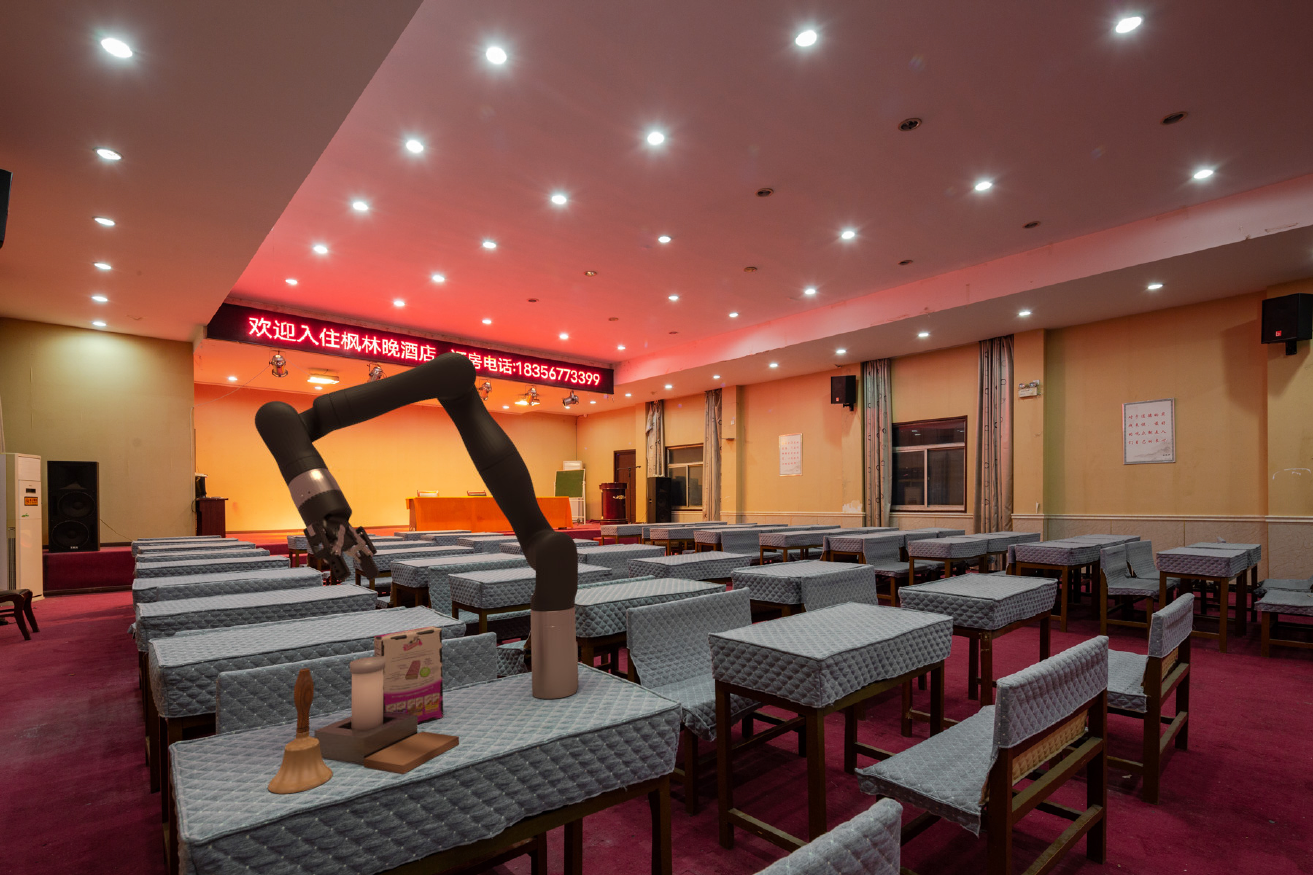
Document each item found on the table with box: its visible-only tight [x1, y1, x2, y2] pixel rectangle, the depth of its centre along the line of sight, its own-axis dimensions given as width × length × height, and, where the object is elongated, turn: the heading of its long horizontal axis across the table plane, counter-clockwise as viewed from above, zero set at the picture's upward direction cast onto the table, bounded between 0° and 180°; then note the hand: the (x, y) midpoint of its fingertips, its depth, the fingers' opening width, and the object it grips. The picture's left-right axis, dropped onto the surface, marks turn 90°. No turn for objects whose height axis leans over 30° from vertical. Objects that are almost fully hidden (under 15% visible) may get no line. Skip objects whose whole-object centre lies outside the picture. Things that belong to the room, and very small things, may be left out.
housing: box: [313, 711, 418, 766], centre depth 104 cm, size 11×11×4 cm
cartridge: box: [349, 656, 385, 732], centre depth 105 cm, size 5×5×14 cm
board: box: [363, 731, 460, 775], centre depth 100 cm, size 12×8×1 cm, turn 156°
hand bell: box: [267, 667, 334, 795], centre depth 93 cm, size 8×8×16 cm
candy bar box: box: [373, 625, 444, 725], centre depth 116 cm, size 11×5×16 cm, turn 131°
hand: (360, 578), depth 107 cm, fingers open, 8 cm apart
